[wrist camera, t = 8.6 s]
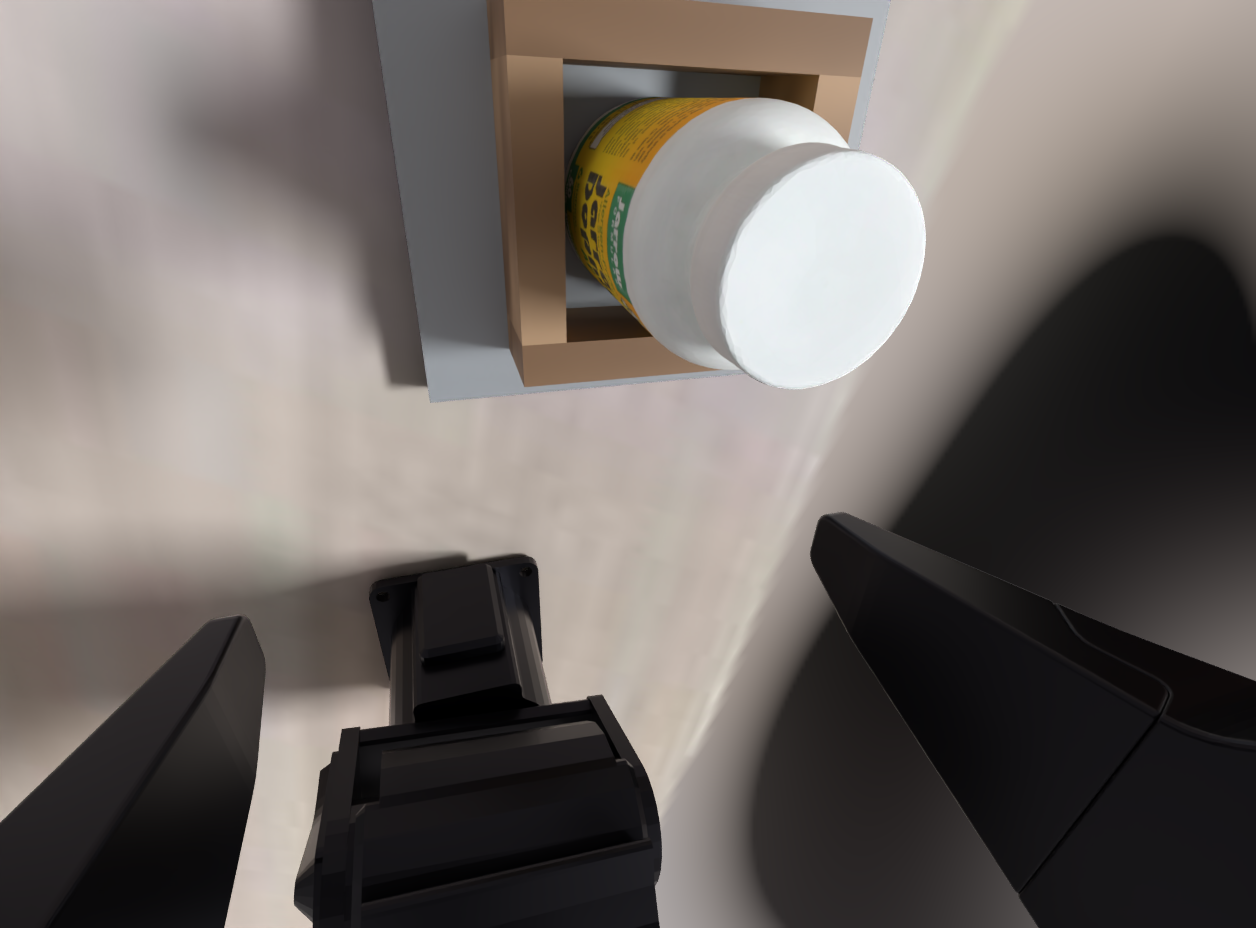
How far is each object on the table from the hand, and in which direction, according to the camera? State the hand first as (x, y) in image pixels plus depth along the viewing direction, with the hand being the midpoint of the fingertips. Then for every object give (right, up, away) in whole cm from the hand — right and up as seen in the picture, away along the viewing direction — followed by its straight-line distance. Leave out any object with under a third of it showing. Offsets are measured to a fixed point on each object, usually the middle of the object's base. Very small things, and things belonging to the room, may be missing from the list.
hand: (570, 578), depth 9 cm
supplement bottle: (+1, +10, +9) cm, 13 cm away
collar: (+1, +10, +8) cm, 13 cm away
